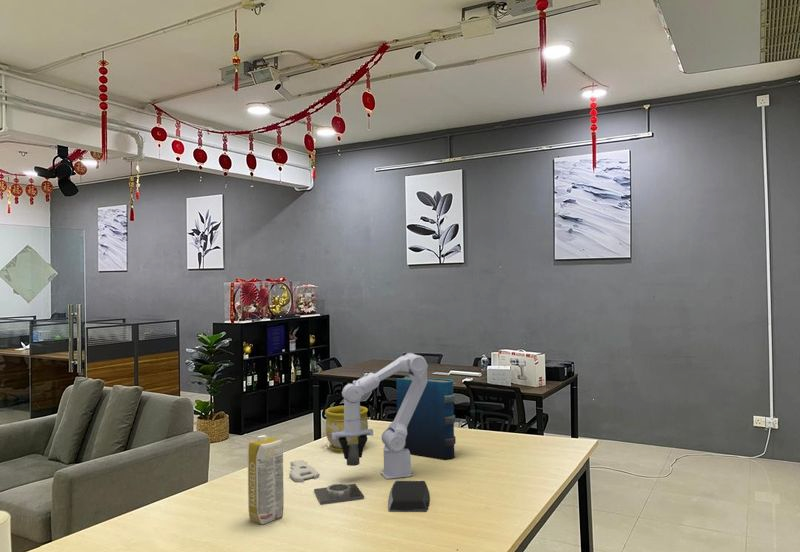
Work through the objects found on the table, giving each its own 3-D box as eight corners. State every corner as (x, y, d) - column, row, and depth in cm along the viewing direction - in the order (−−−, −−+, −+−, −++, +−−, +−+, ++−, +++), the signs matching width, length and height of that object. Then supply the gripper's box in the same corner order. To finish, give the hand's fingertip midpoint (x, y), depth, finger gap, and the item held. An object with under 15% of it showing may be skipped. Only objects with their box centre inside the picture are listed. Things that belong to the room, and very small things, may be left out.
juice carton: (270, 510, 175) (269, 431, 176) (287, 516, 170) (286, 435, 171) (244, 520, 168) (243, 437, 169) (261, 527, 163) (260, 441, 164)
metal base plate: (355, 486, 195) (355, 479, 195) (364, 498, 184) (364, 490, 184) (314, 491, 191) (313, 484, 191) (320, 504, 179) (320, 496, 179)
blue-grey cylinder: (357, 461, 205) (357, 442, 205) (360, 464, 201) (360, 445, 201) (345, 462, 204) (345, 443, 204) (348, 466, 199) (348, 447, 200)
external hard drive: (385, 513, 173) (385, 499, 173) (391, 490, 192) (390, 478, 192) (429, 513, 172) (429, 500, 172) (430, 491, 191) (430, 478, 191)
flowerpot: (316, 450, 240) (316, 411, 240) (344, 440, 255) (344, 403, 255) (349, 457, 230) (349, 415, 230) (377, 446, 245) (376, 407, 245)
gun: (280, 460, 215) (306, 456, 220) (280, 469, 215) (306, 465, 220) (296, 476, 199) (323, 472, 204) (296, 486, 199) (323, 482, 204)
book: (460, 455, 230) (458, 379, 230) (450, 461, 222) (448, 382, 223) (408, 447, 242) (407, 375, 243) (397, 452, 235) (396, 378, 236)
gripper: (369, 414, 209) (370, 452, 208) (329, 418, 204) (330, 456, 204) (374, 418, 202) (375, 457, 202) (333, 422, 197) (334, 462, 197)
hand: (353, 457), depth 202 cm, fingers closed on blue-grey cylinder, 4 cm apart
